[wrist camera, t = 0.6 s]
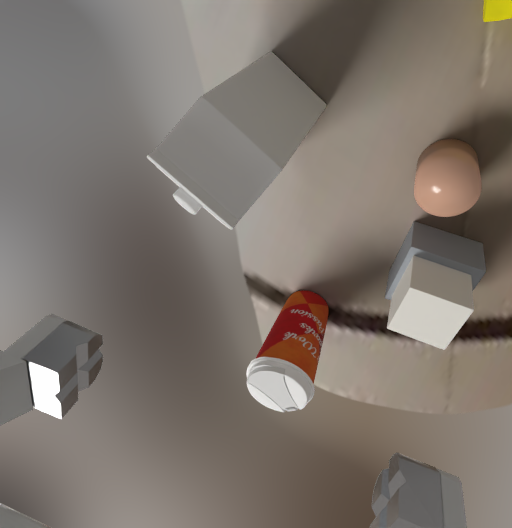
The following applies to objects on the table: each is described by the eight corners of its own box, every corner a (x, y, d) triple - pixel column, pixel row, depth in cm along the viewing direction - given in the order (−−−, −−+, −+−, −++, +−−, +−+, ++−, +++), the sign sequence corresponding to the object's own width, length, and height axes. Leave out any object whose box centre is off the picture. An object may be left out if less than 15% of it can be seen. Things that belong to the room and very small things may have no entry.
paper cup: (348, 320, 55) (325, 411, 44) (299, 333, 59) (268, 419, 48) (316, 275, 52) (284, 359, 42) (268, 292, 56) (228, 373, 46)
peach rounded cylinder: (430, 131, 38) (429, 152, 34) (489, 148, 37) (494, 171, 34) (408, 182, 42) (404, 206, 38) (461, 198, 41) (463, 224, 37)
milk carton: (271, 50, 39) (171, 114, 24) (328, 104, 40) (263, 196, 26) (230, 108, 43) (125, 190, 29) (281, 155, 44) (205, 257, 30)
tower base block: (414, 220, 44) (411, 246, 40) (482, 242, 43) (486, 271, 39) (389, 270, 48) (384, 298, 45) (450, 291, 47) (451, 321, 43)
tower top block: (413, 255, 41) (410, 287, 37) (471, 275, 40) (473, 310, 36) (391, 295, 44) (386, 328, 40) (444, 314, 43) (444, 349, 39)
